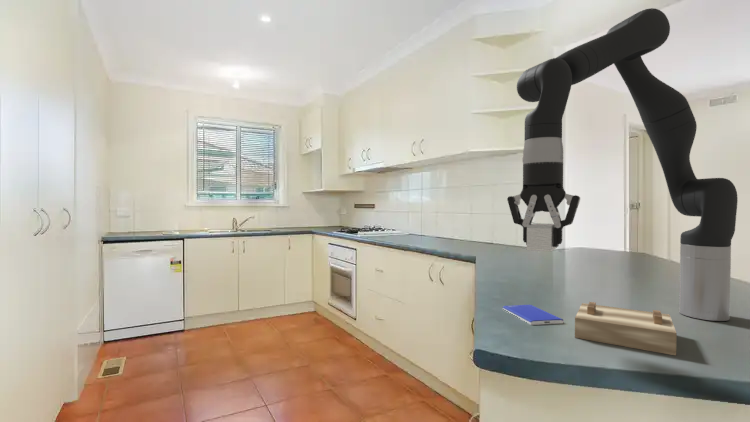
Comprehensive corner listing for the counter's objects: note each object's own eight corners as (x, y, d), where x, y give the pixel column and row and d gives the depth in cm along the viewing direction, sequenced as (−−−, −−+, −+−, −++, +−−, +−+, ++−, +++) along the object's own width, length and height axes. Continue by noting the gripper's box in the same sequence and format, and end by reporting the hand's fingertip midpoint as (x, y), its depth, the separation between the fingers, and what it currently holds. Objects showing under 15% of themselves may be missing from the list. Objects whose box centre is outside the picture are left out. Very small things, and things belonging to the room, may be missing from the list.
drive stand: (581, 320, 88) (582, 296, 88) (669, 333, 79) (669, 307, 79) (574, 337, 76) (575, 310, 76) (676, 355, 67) (676, 324, 67)
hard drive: (502, 305, 96) (530, 320, 84) (531, 304, 98) (563, 318, 85) (502, 311, 96) (530, 327, 84) (531, 310, 98) (563, 325, 85)
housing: (534, 246, 82) (534, 223, 82) (557, 247, 80) (557, 223, 80) (526, 249, 75) (526, 224, 75) (551, 251, 73) (551, 225, 73)
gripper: (584, 161, 76) (583, 246, 77) (511, 165, 84) (510, 242, 85) (580, 158, 70) (579, 250, 70) (502, 162, 78) (501, 245, 78)
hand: (542, 245), depth 77 cm, fingers closed on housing, 4 cm apart
